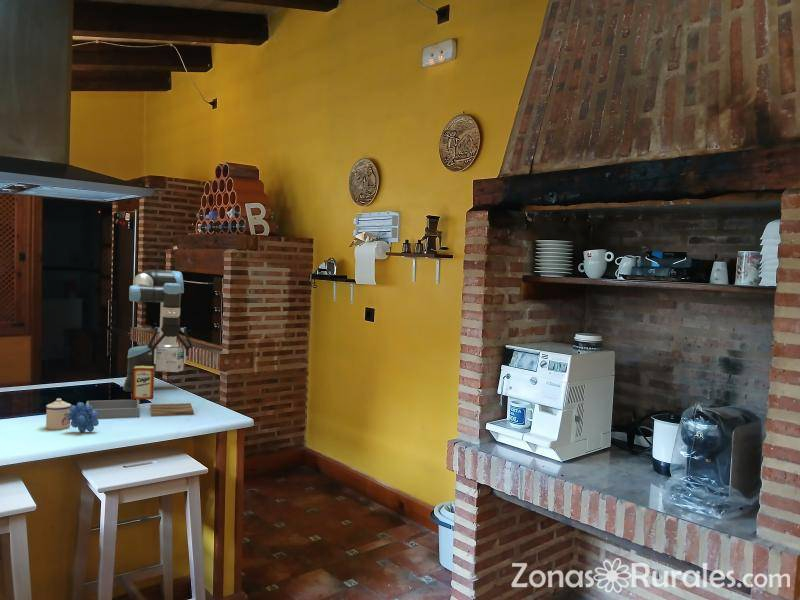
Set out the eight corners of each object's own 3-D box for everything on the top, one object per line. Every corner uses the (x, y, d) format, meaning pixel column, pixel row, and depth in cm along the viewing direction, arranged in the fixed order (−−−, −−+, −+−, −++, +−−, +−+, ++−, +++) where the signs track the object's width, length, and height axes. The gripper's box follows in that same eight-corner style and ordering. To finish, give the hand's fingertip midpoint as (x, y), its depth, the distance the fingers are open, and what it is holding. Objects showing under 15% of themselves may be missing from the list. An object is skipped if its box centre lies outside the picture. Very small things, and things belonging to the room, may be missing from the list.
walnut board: (150, 407, 295) (150, 404, 295) (190, 406, 302) (190, 403, 302) (151, 416, 279) (151, 413, 279) (193, 414, 286) (193, 411, 286)
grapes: (63, 434, 243) (63, 404, 243) (69, 430, 250) (69, 400, 249) (95, 434, 245) (96, 404, 245) (100, 430, 252) (101, 401, 251)
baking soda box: (153, 396, 320) (154, 365, 319) (152, 399, 314) (153, 367, 313) (133, 396, 317) (134, 365, 316) (132, 399, 311) (133, 367, 310)
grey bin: (86, 409, 285) (87, 400, 285) (139, 407, 294) (139, 399, 294) (83, 419, 268) (83, 410, 268) (139, 417, 276) (139, 408, 276)
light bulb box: (183, 370, 292) (184, 347, 291) (177, 372, 285) (177, 349, 285) (162, 368, 293) (162, 345, 293) (154, 371, 286) (155, 347, 286)
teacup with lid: (65, 430, 250) (66, 401, 249) (41, 430, 248) (42, 401, 248) (76, 423, 262) (77, 395, 261) (53, 422, 260) (54, 394, 260)
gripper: (142, 316, 280) (141, 364, 281) (199, 317, 289) (197, 364, 290) (142, 315, 287) (141, 362, 288) (198, 316, 296) (196, 361, 297)
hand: (169, 363), depth 289 cm, fingers closed on light bulb box, 12 cm apart
